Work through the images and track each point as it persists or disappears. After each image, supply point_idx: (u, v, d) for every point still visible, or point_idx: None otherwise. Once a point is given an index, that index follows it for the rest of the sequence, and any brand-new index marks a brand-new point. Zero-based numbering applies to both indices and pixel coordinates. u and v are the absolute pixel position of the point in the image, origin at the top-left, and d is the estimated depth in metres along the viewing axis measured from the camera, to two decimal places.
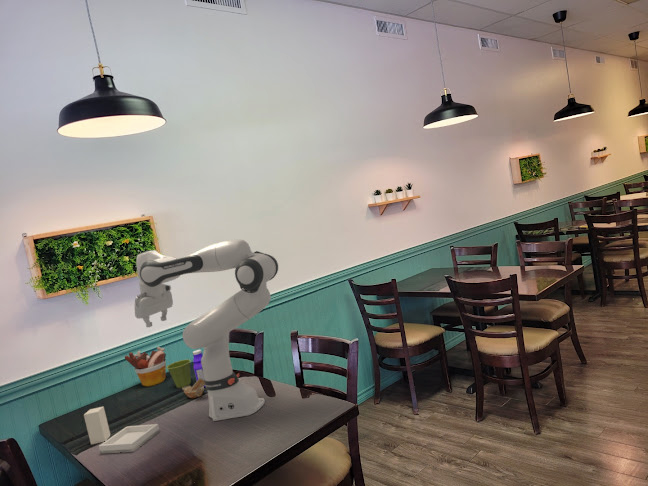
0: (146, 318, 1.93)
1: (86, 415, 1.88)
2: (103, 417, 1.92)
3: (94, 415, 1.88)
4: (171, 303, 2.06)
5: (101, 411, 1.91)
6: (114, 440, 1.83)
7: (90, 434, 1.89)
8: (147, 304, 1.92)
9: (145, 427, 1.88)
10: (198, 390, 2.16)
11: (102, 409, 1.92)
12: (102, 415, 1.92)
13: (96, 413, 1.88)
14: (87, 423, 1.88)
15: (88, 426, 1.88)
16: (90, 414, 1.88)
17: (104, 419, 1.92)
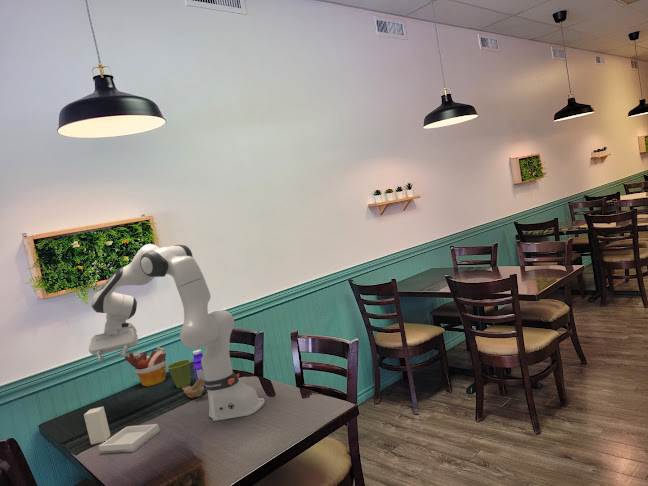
0: None
1: (86, 415, 1.88)
2: (103, 417, 1.92)
3: (94, 415, 1.88)
4: (131, 339, 2.11)
5: (101, 411, 1.91)
6: (114, 440, 1.83)
7: (90, 434, 1.89)
8: (99, 340, 2.13)
9: (145, 427, 1.88)
10: (198, 390, 2.16)
11: (102, 409, 1.92)
12: (102, 415, 1.92)
13: (96, 413, 1.88)
14: (87, 423, 1.88)
15: (88, 426, 1.88)
16: (90, 414, 1.88)
17: (104, 419, 1.92)
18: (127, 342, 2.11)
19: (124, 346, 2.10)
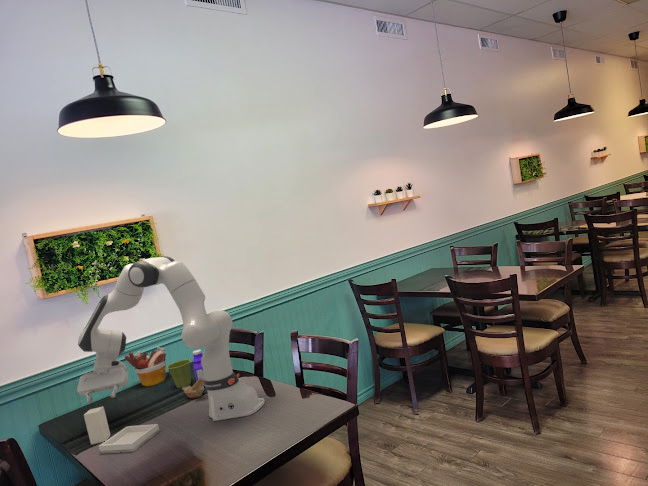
0: None
1: (86, 415, 1.88)
2: (103, 417, 1.92)
3: (94, 415, 1.88)
4: (121, 378, 2.02)
5: (101, 411, 1.91)
6: (114, 440, 1.83)
7: (90, 434, 1.89)
8: (88, 380, 2.04)
9: (145, 427, 1.88)
10: (198, 390, 2.16)
11: (102, 409, 1.92)
12: (102, 415, 1.92)
13: (96, 413, 1.88)
14: (87, 423, 1.88)
15: (88, 426, 1.88)
16: (90, 414, 1.88)
17: (104, 419, 1.92)
18: (117, 382, 2.01)
19: (114, 386, 2.01)
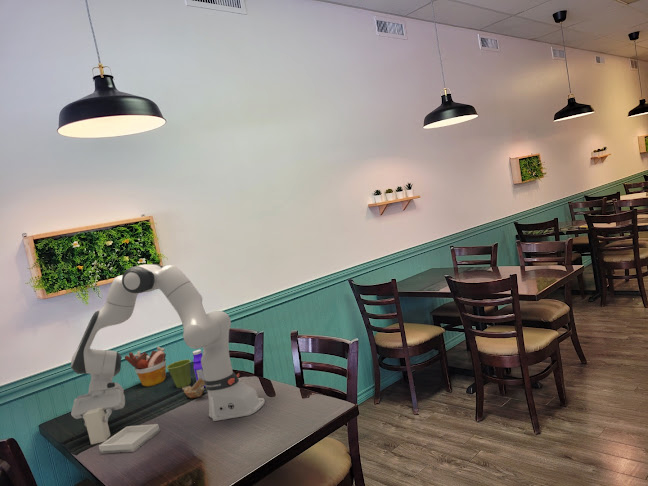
0: None
1: (86, 415, 1.88)
2: None
3: (94, 415, 1.88)
4: (118, 401, 1.94)
5: (101, 411, 1.91)
6: (114, 440, 1.83)
7: (90, 434, 1.89)
8: (82, 402, 1.96)
9: (145, 427, 1.88)
10: (198, 390, 2.16)
11: (102, 409, 1.92)
12: (102, 415, 1.92)
13: (96, 413, 1.88)
14: (87, 423, 1.88)
15: (88, 426, 1.88)
16: (90, 414, 1.88)
17: None
18: (113, 405, 1.93)
19: (106, 410, 1.93)
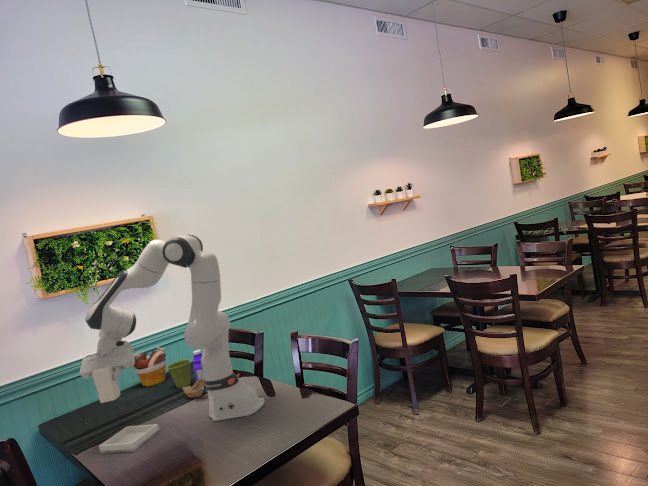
0: None
1: (95, 373, 1.81)
2: None
3: (103, 372, 1.82)
4: (127, 359, 1.87)
5: (110, 369, 1.84)
6: (114, 440, 1.83)
7: (99, 392, 1.82)
8: (91, 361, 1.89)
9: (145, 427, 1.88)
10: (198, 390, 2.16)
11: (111, 367, 1.86)
12: (112, 373, 1.85)
13: (105, 370, 1.82)
14: (96, 381, 1.82)
15: (97, 384, 1.82)
16: (99, 372, 1.81)
17: None
18: (123, 363, 1.86)
19: (116, 368, 1.86)
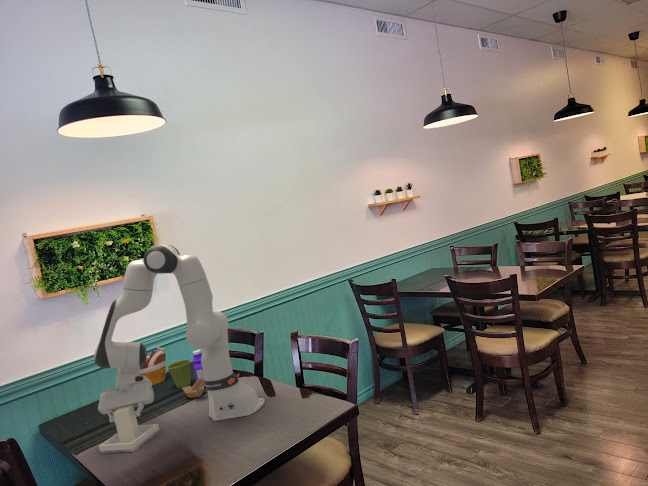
0: None
1: (115, 414, 1.79)
2: (133, 416, 1.82)
3: (124, 414, 1.79)
4: (147, 395, 1.84)
5: (131, 409, 1.82)
6: (114, 440, 1.83)
7: (120, 434, 1.79)
8: (110, 397, 1.86)
9: (145, 427, 1.88)
10: (198, 390, 2.16)
11: (132, 407, 1.83)
12: (132, 414, 1.82)
13: (126, 412, 1.79)
14: (116, 422, 1.79)
15: (118, 425, 1.79)
16: (120, 413, 1.79)
17: (134, 418, 1.83)
18: (142, 399, 1.84)
19: (139, 404, 1.83)
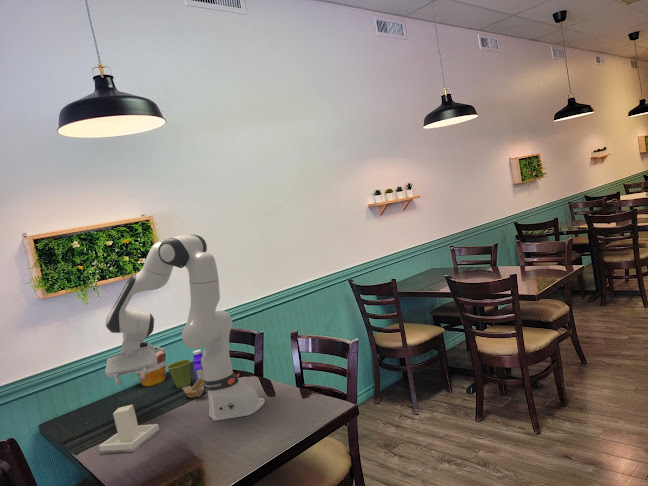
0: None
1: (115, 414, 1.79)
2: (133, 416, 1.82)
3: (124, 414, 1.79)
4: (151, 360, 1.97)
5: (131, 409, 1.82)
6: (114, 440, 1.83)
7: (120, 434, 1.79)
8: (116, 361, 1.98)
9: (145, 427, 1.88)
10: (198, 390, 2.16)
11: (132, 407, 1.83)
12: (132, 414, 1.82)
13: (126, 412, 1.79)
14: (116, 422, 1.79)
15: (118, 425, 1.79)
16: (120, 413, 1.79)
17: (134, 418, 1.83)
18: (146, 363, 1.96)
19: (143, 368, 1.96)
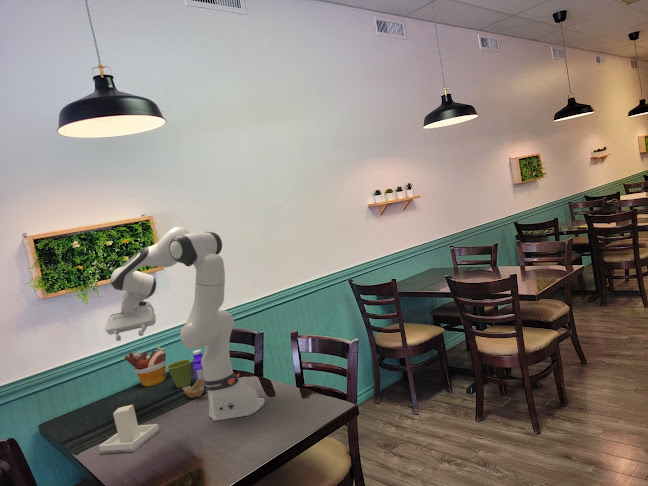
0: None
1: (115, 414, 1.79)
2: (133, 416, 1.82)
3: (124, 414, 1.79)
4: (149, 317, 2.04)
5: (131, 409, 1.82)
6: (114, 440, 1.83)
7: (120, 434, 1.79)
8: (116, 319, 2.06)
9: (145, 427, 1.88)
10: (198, 390, 2.16)
11: (132, 407, 1.83)
12: (132, 414, 1.82)
13: (126, 412, 1.79)
14: (116, 422, 1.79)
15: (118, 425, 1.79)
16: (120, 413, 1.79)
17: (134, 418, 1.83)
18: (145, 321, 2.03)
19: (142, 325, 2.03)
